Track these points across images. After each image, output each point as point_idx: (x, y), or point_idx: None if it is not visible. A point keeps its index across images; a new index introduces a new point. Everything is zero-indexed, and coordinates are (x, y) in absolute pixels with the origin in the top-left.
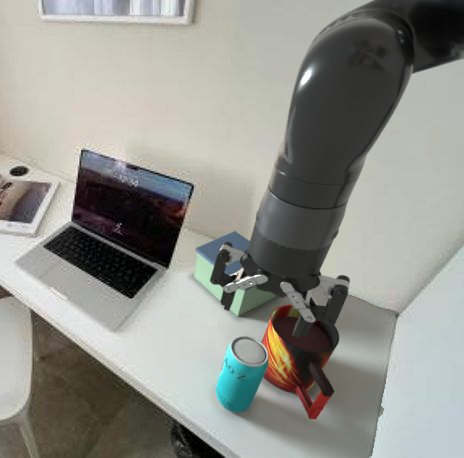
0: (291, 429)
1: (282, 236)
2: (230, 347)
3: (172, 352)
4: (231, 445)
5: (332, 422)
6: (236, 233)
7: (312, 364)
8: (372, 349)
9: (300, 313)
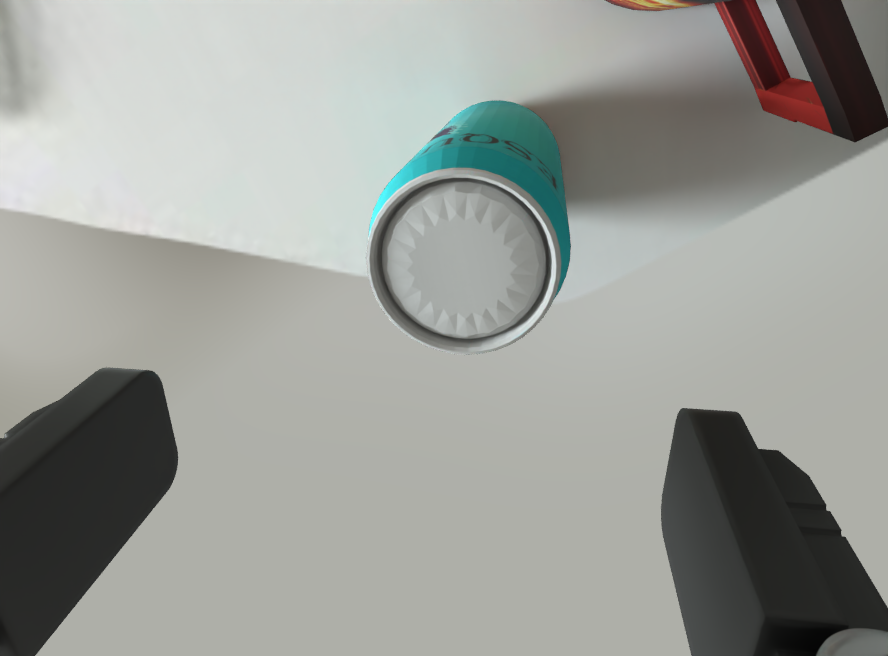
0: (700, 162)
1: None
2: (373, 291)
3: (243, 79)
4: None
5: None
6: None
7: (797, 6)
8: None
9: (726, 513)
